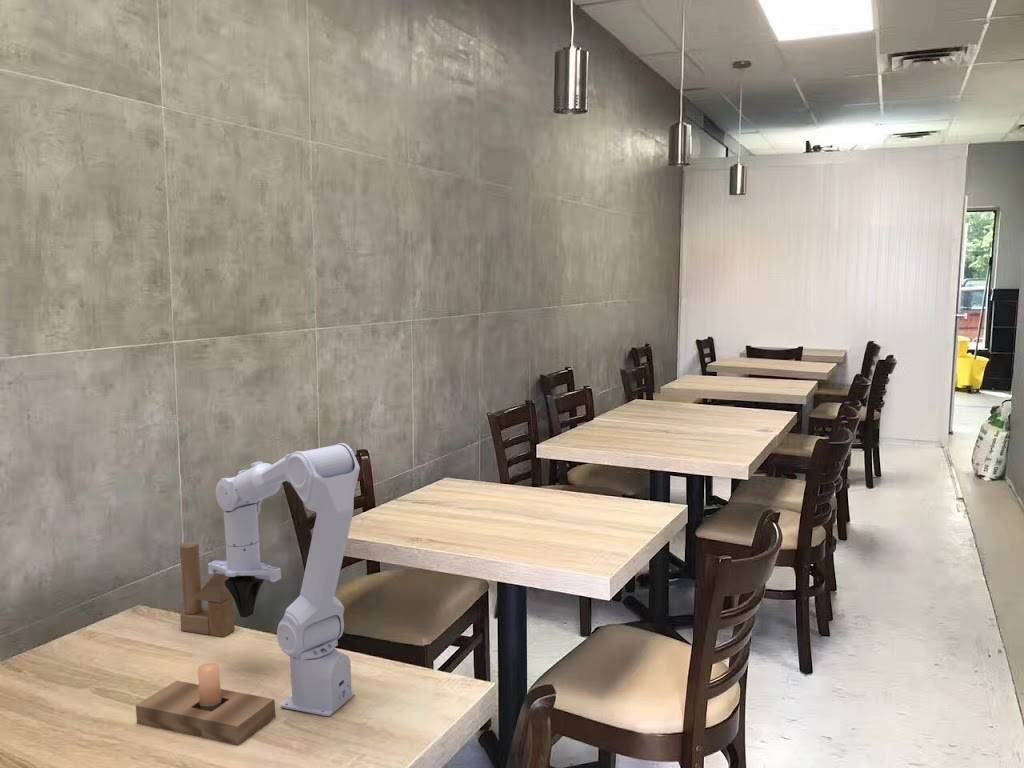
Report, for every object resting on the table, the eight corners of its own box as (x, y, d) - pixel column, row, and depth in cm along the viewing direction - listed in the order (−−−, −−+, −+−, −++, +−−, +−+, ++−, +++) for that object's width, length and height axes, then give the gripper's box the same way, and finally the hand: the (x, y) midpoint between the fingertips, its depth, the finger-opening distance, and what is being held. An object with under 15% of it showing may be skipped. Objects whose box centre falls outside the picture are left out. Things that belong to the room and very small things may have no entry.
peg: (226, 717, 135) (223, 664, 134) (213, 727, 132) (210, 673, 131) (209, 714, 136) (206, 661, 135) (196, 724, 133) (192, 670, 132)
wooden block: (223, 637, 167) (218, 550, 165) (180, 631, 170) (174, 545, 168) (235, 630, 170) (230, 545, 168) (193, 624, 174) (187, 540, 172)
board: (275, 716, 135) (274, 699, 135) (238, 745, 127) (237, 726, 126) (178, 697, 142) (176, 680, 142) (136, 723, 134) (135, 705, 133)
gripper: (194, 544, 148) (199, 618, 150) (261, 552, 143) (265, 628, 144) (221, 533, 155) (225, 604, 156) (286, 540, 149) (290, 613, 151)
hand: (246, 615), depth 151 cm, fingers closed
